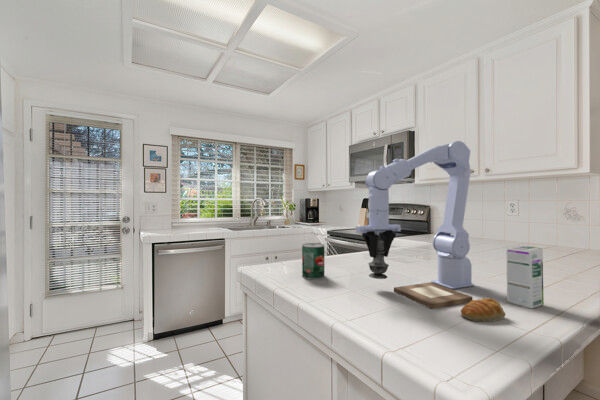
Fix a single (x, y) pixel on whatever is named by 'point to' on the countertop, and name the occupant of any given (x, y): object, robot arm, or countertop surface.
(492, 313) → the pastry
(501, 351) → the countertop surface
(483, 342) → the countertop surface
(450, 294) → the walnut board
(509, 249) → the syrup box
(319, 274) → the canned tomato
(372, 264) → the salt shaker
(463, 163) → the robot arm
